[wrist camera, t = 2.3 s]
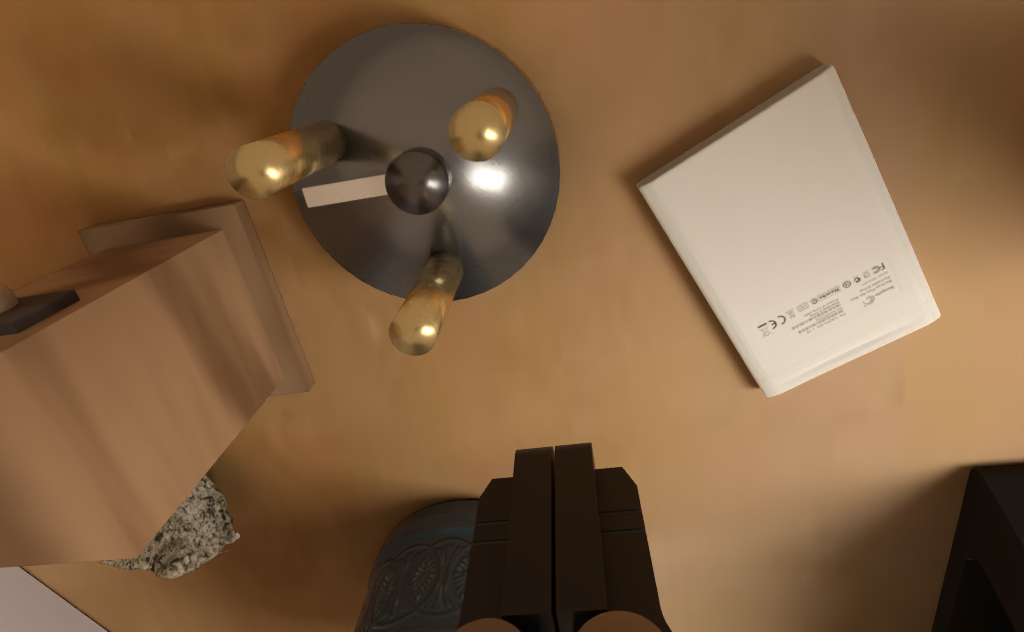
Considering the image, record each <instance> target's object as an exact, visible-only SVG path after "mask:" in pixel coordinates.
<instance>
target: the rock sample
mask: <svg viewBox="0 0 1024 632" xmlns="http://www.w3.org/2000/svg"><path fill="white" fill-rule="evenodd" d="M228 510H229V509H228V506H227V504H226V500H225V497H224V496H223V495H222V493H221V492H220V491H219V490H218V489H217V487H216V485H215V484H214V483H213V482H212V481H211V480H210V479H209V477H208V476H207V475H206V474H205V475H204V476H203V478H202V479H201V480H200V481H199V482H198V484H197V485H196V486H195V487H194V489H193V490H192V491H191V492H190V493H189V495H188V496H187V497H186V498H185V500H184V501H183V502H182V503H181V504H180V506H179V507H178V508H177V509H176V511H175V512H174V513H173V514H172V515H171V517H170V518H169V519H168V520H167V522H166V523H165V524H164V525H163V526H162V528H161V529H160V530H159V531H158V533H157V534H156V535H155V536H154V537H153V539H152V540H151V541H150V542H149V544H148V545H147V546H146V547H145V549H144V550H143V551H142V552H141V553H140V555H139V556H138V557H137V558H129V559H116V560H102V561H100V563H105V564H109V565H113V567H117V568H119V569H120V568H121V569H128V570H133V569H141V570H146V569H150V570H151V571H153V572H155V573H156V576H159V577H162V578H165V579H172V578H177V577H179V576H181V575H183V574H187V573H189V572H190V571H195V570H196V569H198V568H199V567H200V564H201V565H203V564H205V563H206V562H207V561H210V560H211V559H212V558H213V557H215V556H217V555H221V554H222V553H223V552H225V551H226V550H225V551H221V550H222V548H223V547H224V546H227V544H231V543H233V542H234V541H235V540H236V539H238V538H240V535H239V533H236V534H235V533H234V530H233V527H232V525H233V520H234V519H233V518H232V515H231V514H230V513H229V512H228ZM230 541H231V542H230ZM230 547H231V545H230ZM220 551H221V552H220ZM229 551H230V550H229ZM226 552H227V551H226ZM218 553H219V554H218ZM195 568H196V569H195ZM147 571H148V570H147ZM150 583H151V581H150ZM150 583H149V584H150ZM153 588H154V587H153Z"/></svg>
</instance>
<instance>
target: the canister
mask: <svg viewBox="0 0 1024 632" xmlns="http://www.w3.org/2000/svg"><path fill="white" fill-rule="evenodd" d="M477 507H478V501H477V500H462V501H451V502H445V503H441V504H437V505H433V506H430V507H427V508H425V509H422V510H420V511H418V512H416V513H414V514H413V515H411V516H409V517H408V518H406V519H405V520H404V521H403V522H401V523H400V524H399V525H398V526H397V527H396V528H395V529H394V531H393V532H392V533H391V535H390V537H389V538H388V540H387V542H386V543H385V545H384V546H383V547H382V549H381V550H380V552H379V554H378V556H377V558H376V560H375V563H374V567H373V569H372V571H371V574H370V577H369V582H368V592H367V595H366V598H365V601H364V604H363V607H362V610H361V613H360V616H359V618H358V621H357V624H356V627H355V630H354V632H455V631H456V630H457V628H458V624H459V620H460V614H461V608H462V601H463V595H464V589H465V583H466V576H467V570H468V564H469V557H470V551H471V546H472V538H473V532H474V527H475V520H476V513H477Z"/></svg>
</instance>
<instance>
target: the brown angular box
mask: <svg viewBox="0 0 1024 632" xmlns="http://www.w3.org/2000/svg"><path fill="white" fill-rule="evenodd" d="M78 233H79V235H80V237H81V239H82V240H83V242H84V244H85V246H86V248H87V250H88V252H89V254H90V255H91V256H89V257H87V258H85V259H82V260H80V261H78V262H76V263H74V264H71V265H69V266H67V267H65V268H63V269H60V270H58V271H56V272H54V273H52V274H49V275H47V276H45V277H43V278H41V279H38V280H36V281H34V282H32V283H30V284H27V285H25V286H23V287H21V288H19V289H16V290H14V291H11V290H10V289H9V288H7V287H6V286H4V285H2V284H0V568H5V567H19V566H33V565H47V564H61V563H74V562H88V561H102V560H116V559H129V558H137V557H138V556H139V555H140V553H141V552H142V551H143V550H144V549H145V547H146V546H147V545H148V544H149V542H150V541H151V540H152V539H153V537H154V536H155V535H156V534H157V533H158V531H159V530H160V529H161V528H162V526H163V525H164V524H165V523H166V522H167V520H168V519H169V518H170V517H171V515H172V514H173V513H174V512H175V511H176V509H177V508H178V507H179V506H180V504H181V503H182V502H183V501H184V500H185V498H186V497H187V496H188V495H189V493H190V492H191V491H192V490H193V489H194V487H195V486H196V485H197V484H198V482H199V481H200V480H201V479H202V478H203V476H204V475H205V474H206V473H207V471H208V470H209V469H210V468H211V467H212V465H213V464H214V463H215V462H216V460H217V459H218V458H219V457H220V456H221V454H222V453H223V452H224V451H225V449H226V448H227V447H228V446H229V445H230V443H231V442H232V441H233V440H234V438H235V437H236V436H237V435H238V434H239V432H240V431H241V430H242V429H243V427H244V426H245V425H246V424H247V423H248V421H249V420H250V419H251V418H252V416H253V415H254V414H255V413H256V411H257V410H258V409H259V408H260V407H261V405H262V404H263V403H264V402H265V400H266V399H267V398H268V397H269V396H275V395H284V394H292V393H301V392H309V390H310V389H311V388H312V386H313V385H314V380H313V378H312V375H311V372H310V370H309V367H308V365H307V362H306V360H305V357H304V354H303V352H302V349H301V347H300V344H299V342H298V339H297V336H296V334H295V331H294V329H293V326H292V324H291V321H290V319H289V316H288V313H287V311H286V308H285V306H284V303H283V301H282V298H281V295H280V293H279V290H278V288H277V285H276V283H275V280H274V277H273V275H272V272H271V270H270V267H269V265H268V262H267V259H266V257H265V254H264V252H263V249H262V247H261V244H260V241H259V239H258V236H257V234H256V231H255V229H254V226H253V223H252V221H251V218H250V216H249V213H248V211H247V208H246V205H245V203H244V200H240V201H235V202H229V203H223V204H217V205H211V206H205V207H200V208H194V209H188V210H182V211H176V212H170V213H165V214H159V215H153V216H147V217H141V218H135V219H129V220H124V221H118V222H112V223H106V224H100V225H94V226H90V227H87V228H85V229H82V230H79V231H78Z"/></svg>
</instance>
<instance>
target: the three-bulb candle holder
mask: <svg viewBox="0 0 1024 632" xmlns="http://www.w3.org/2000/svg"><path fill="white" fill-rule="evenodd" d="M225 172H226V176H227V178H228V181H229V182H230V184H231V185H232V187H233V188H234V189H235V190H236V191H237V192H238V193H240V194H241V195H243V196H244V197H247V198H249V199H254V200H261V199H265V198H267V197H269V196H271V195H273V194H275V193H277V192H279V191H280V190H282V189H284V188H286V187H288V186H290V185H292V187H293V191H294V195H295V198H296V201H297V203H298V206H299V208H300V210H301V213H302V215H303V217H304V219H305V221H306V222H307V224H308V226H309V228H310V230H311V231H312V233H313V234H314V236H315V237H316V238H317V240H318V241H319V243H320V244H321V245H322V246H323V248H324V249H325V250H326V251H327V252H328V253H329V254H330V255H331V257H332V258H333V259H334V260H336V261H337V262H338V263H339V264H340V265H341V266H342V267H343V268H345V269H346V270H347V271H348V272H350V273H351V274H353V275H354V276H355V277H357V278H358V279H360V280H361V281H363V282H365V283H367V284H369V285H370V286H372V287H374V288H376V289H379V290H381V291H383V292H386V293H388V294H391V295H395V296H398V297H402V298H405V299H406V300H405V301H404V303H403V305H402V306H401V308H400V310H399V311H398V313H397V315H396V316H395V318H394V320H393V321H392V323H391V325H390V329H389V336H390V339H391V341H392V343H393V344H394V346H395V347H396V348H397V349H398V350H400V351H401V352H403V353H405V354H408V355H415V356H416V355H422V354H425V353H427V352H429V351H430V350H431V349H432V348H433V346H434V345H435V342H436V340H437V337H438V335H439V332H440V330H441V328H442V325H443V323H444V320H445V318H446V315H447V313H448V310H449V308H450V306H451V303H452V301H454V300H459V299H464V298H469V297H472V296H475V295H478V294H481V293H484V292H486V291H488V290H490V289H492V288H494V287H496V286H498V285H499V284H501V283H502V282H504V281H505V280H507V279H509V278H510V277H511V276H512V275H514V274H515V273H516V272H517V271H518V270H519V269H521V268H522V267H523V266H524V265H525V263H526V262H527V261H528V260H529V259H530V258H531V257H532V255H533V254H534V253H535V251H536V250H537V248H538V247H539V245H540V244H541V242H542V241H543V239H544V237H545V235H546V233H547V231H548V229H549V227H550V224H551V221H552V218H553V215H554V212H555V209H556V204H557V198H558V193H559V179H560V163H559V149H558V143H557V138H556V134H555V129H554V126H553V123H552V120H551V118H550V115H549V112H548V110H547V108H546V106H545V104H544V102H543V100H542V98H541V96H540V94H539V93H538V91H537V90H536V88H535V87H534V85H533V84H532V82H531V81H530V79H529V78H528V77H527V76H526V75H525V74H524V72H523V71H522V70H521V69H520V68H519V67H518V66H517V65H516V64H515V63H514V62H513V61H512V60H511V59H510V58H508V57H507V56H506V55H505V54H504V53H503V52H501V51H500V50H498V49H497V48H495V47H494V46H492V45H491V44H489V43H488V42H486V41H484V40H482V39H480V38H478V37H476V36H473V35H471V34H469V33H466V32H463V31H460V30H457V29H454V28H449V27H443V26H437V25H431V24H424V23H402V24H394V25H387V26H382V27H379V28H376V29H372V30H369V31H366V32H364V33H362V34H360V35H357V36H355V37H353V38H351V39H349V40H348V41H346V42H345V43H343V44H342V45H340V46H339V47H337V48H336V49H335V50H333V51H332V52H331V53H330V54H329V55H328V56H327V57H326V58H325V59H324V60H323V61H322V62H321V63H320V64H319V65H318V66H317V68H316V69H315V70H314V71H313V73H312V74H311V75H310V77H309V78H308V80H307V82H306V83H305V85H304V87H303V89H302V91H301V92H300V95H299V97H298V100H297V102H296V105H295V107H294V110H293V114H292V118H291V123H290V127H289V130H288V131H285V132H282V133H279V134H276V135H273V136H270V137H267V138H264V139H261V140H258V141H255V142H251V143H248V144H245V145H242V146H239V147H237V148H235V149H233V150H232V151H231V152H230V153H229V154H228V156H227V158H226V162H225Z"/></svg>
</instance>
